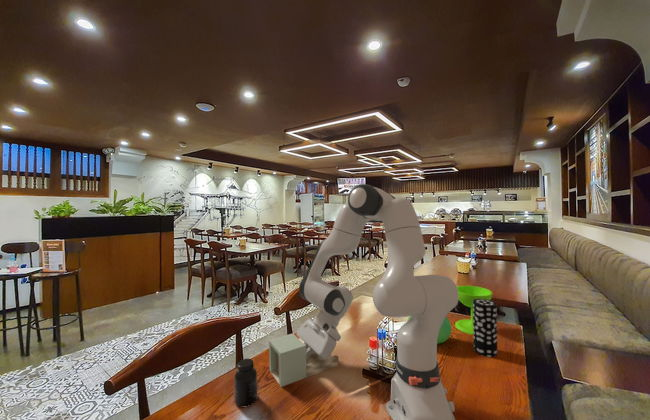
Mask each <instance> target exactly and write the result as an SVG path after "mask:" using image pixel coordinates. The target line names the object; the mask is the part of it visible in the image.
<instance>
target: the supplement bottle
mask: <svg viewBox="0 0 650 420" xmlns="http://www.w3.org/2000/svg"><path fill="white" fill-rule="evenodd" d="M236 368H237V369H236V372H235V373H234V380H233V381H234V403H235V404H236V406H238V405H239V406H238V407H240V406H247V407H249V406H248V405H250V406H251V404H252V403H253V404H254V403H255V402H256V401H257V400H258V371H257V368H255V367H254V360H253V359H252V358H243V359H240V360H239V361H238V363H237V367H236ZM253 404H252V405H253Z"/></svg>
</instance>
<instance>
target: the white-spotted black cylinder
mask: <svg viewBox="0 0 650 420" xmlns="http://www.w3.org/2000/svg"><path fill="white" fill-rule="evenodd" d="M472 336H473V351H474V353H476V354H478V355H480V356H482V357H487V358H494V357H496V356H498V304H497V302H496V301H493V300H487V299H474V300H473V335H472Z"/></svg>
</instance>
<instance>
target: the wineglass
mask: <svg viewBox="0 0 650 420" xmlns="http://www.w3.org/2000/svg"><path fill="white" fill-rule="evenodd" d="M457 289H458V292H459V300H458V302H460V303H462V305H464V306H466V307H468V308H470V318H469V319H468V318H465V319H459V320H458V321H456V322H455V324H454V327H455V328H456V329H458V330H459V331H460V332H462V333H465V334H468V335H471V336H473V300H474V299H487V300H491V299H492V296H493V292H492V291H491V290H490V289H488V288H486V287H481V286H477V285H476V286H474V285H459V286H457ZM491 301H492V300H491Z"/></svg>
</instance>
